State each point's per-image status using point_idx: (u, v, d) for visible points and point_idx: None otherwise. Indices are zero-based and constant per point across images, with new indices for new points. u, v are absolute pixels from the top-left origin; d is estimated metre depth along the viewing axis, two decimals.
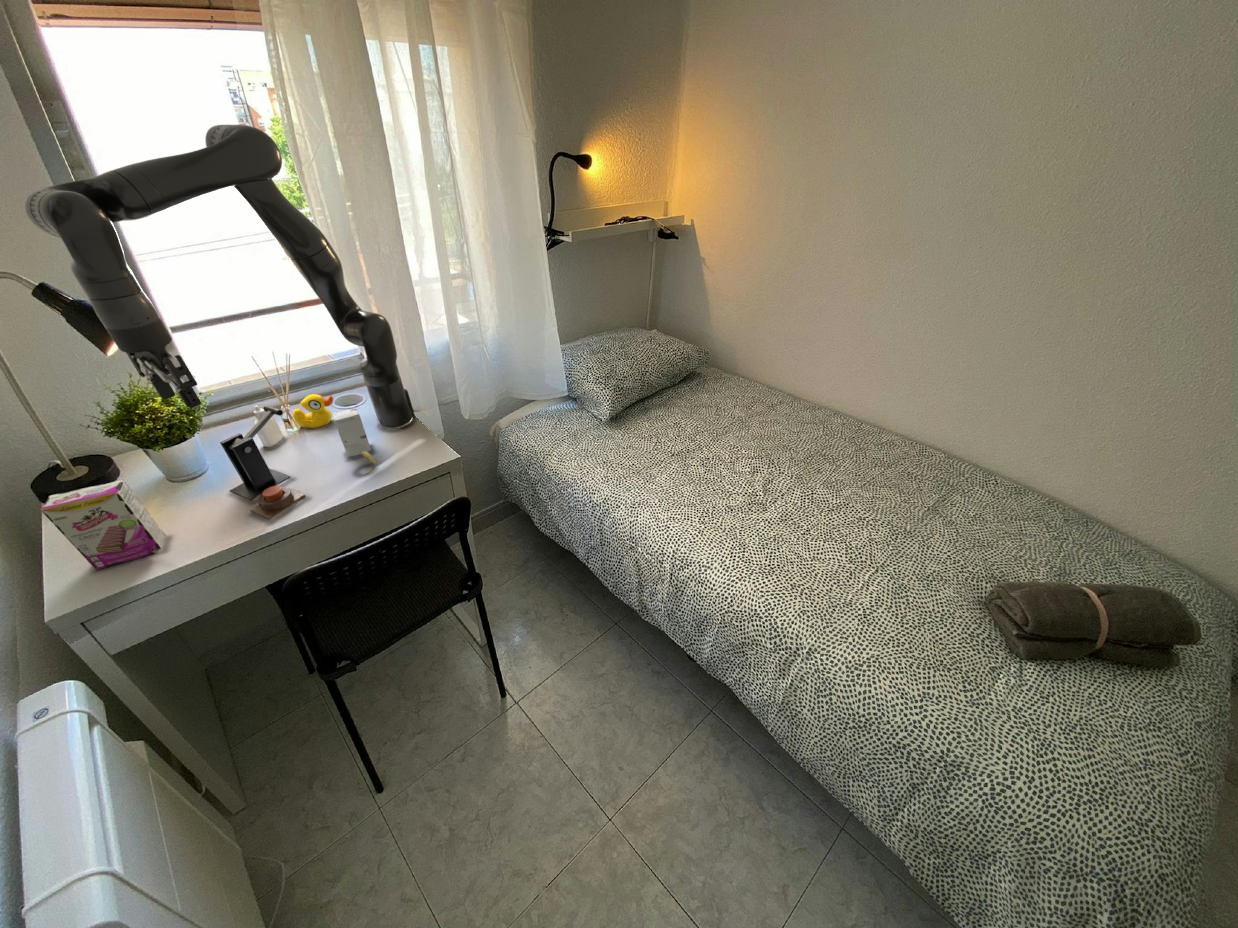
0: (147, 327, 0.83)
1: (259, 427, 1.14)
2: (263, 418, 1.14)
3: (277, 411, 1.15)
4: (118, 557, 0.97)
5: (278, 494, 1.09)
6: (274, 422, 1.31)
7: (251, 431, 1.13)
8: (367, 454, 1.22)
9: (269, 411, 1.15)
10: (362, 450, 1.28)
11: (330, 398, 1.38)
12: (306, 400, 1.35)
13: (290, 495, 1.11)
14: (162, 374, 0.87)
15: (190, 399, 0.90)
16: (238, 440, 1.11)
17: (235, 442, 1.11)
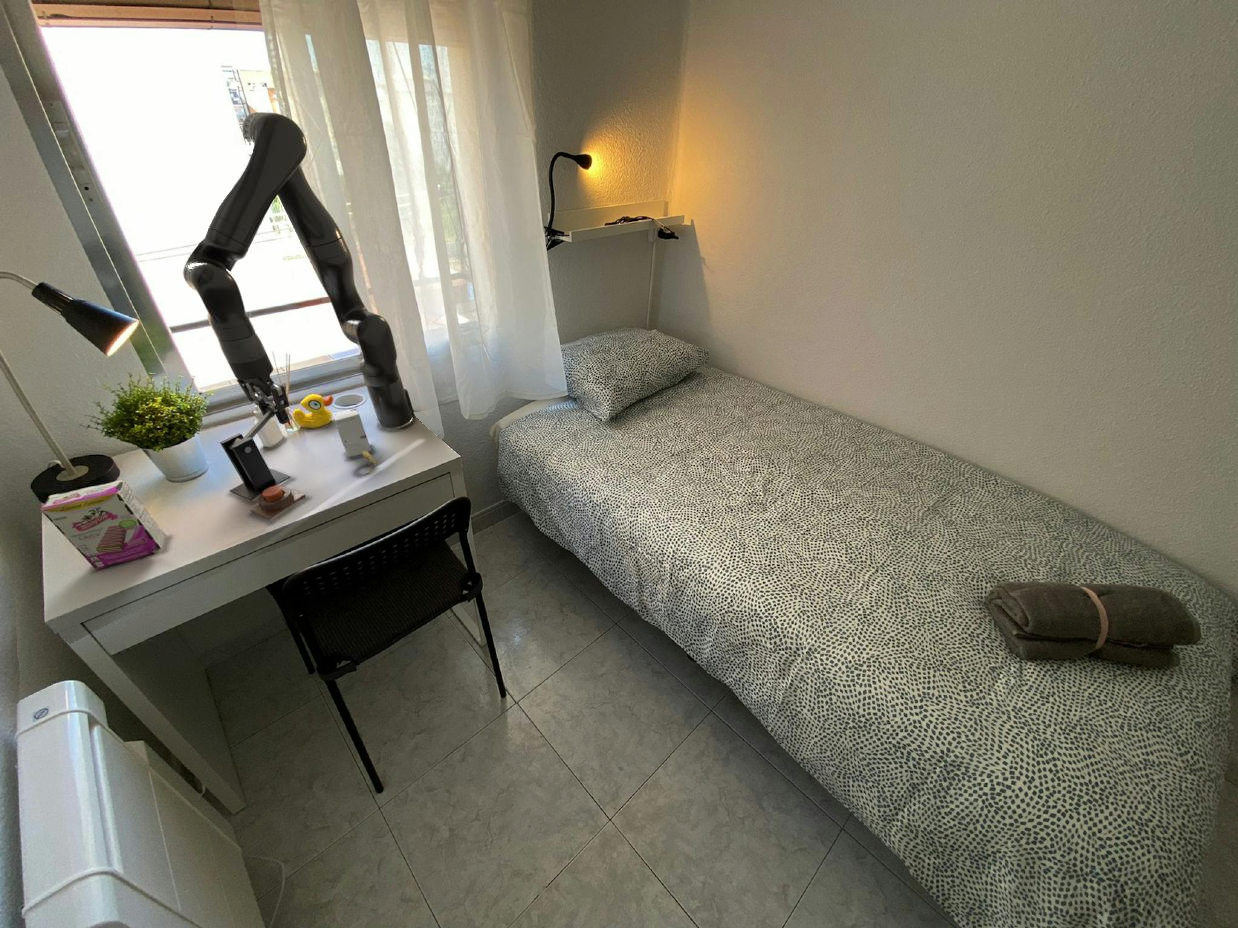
0: (258, 360, 1.07)
1: (259, 427, 1.14)
2: (263, 418, 1.14)
3: None
4: (118, 557, 0.97)
5: (278, 494, 1.09)
6: (274, 422, 1.31)
7: (251, 431, 1.13)
8: (367, 454, 1.22)
9: (269, 411, 1.16)
10: (362, 450, 1.28)
11: (330, 398, 1.38)
12: (306, 400, 1.35)
13: (290, 495, 1.11)
14: (266, 396, 1.11)
15: (283, 417, 1.15)
16: (238, 440, 1.11)
17: (235, 442, 1.11)
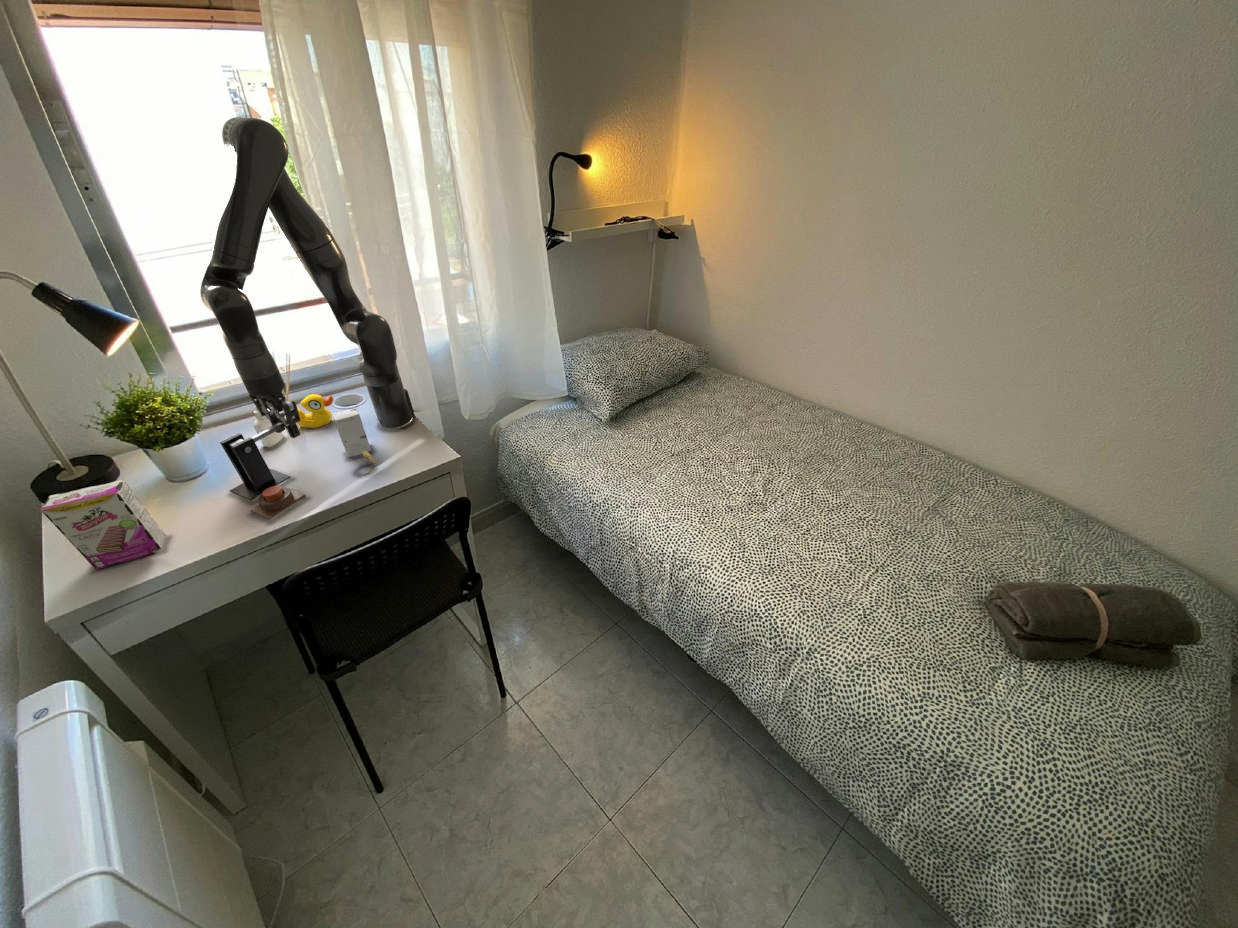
0: (271, 377, 1.10)
1: (265, 434, 1.15)
2: (272, 427, 1.17)
3: None
4: (118, 557, 0.97)
5: (278, 494, 1.09)
6: None
7: (256, 435, 1.14)
8: (367, 454, 1.22)
9: (280, 423, 1.19)
10: (362, 450, 1.28)
11: (330, 398, 1.38)
12: (306, 400, 1.35)
13: (290, 495, 1.11)
14: (278, 411, 1.14)
15: (294, 431, 1.18)
16: (241, 440, 1.11)
17: (237, 441, 1.11)
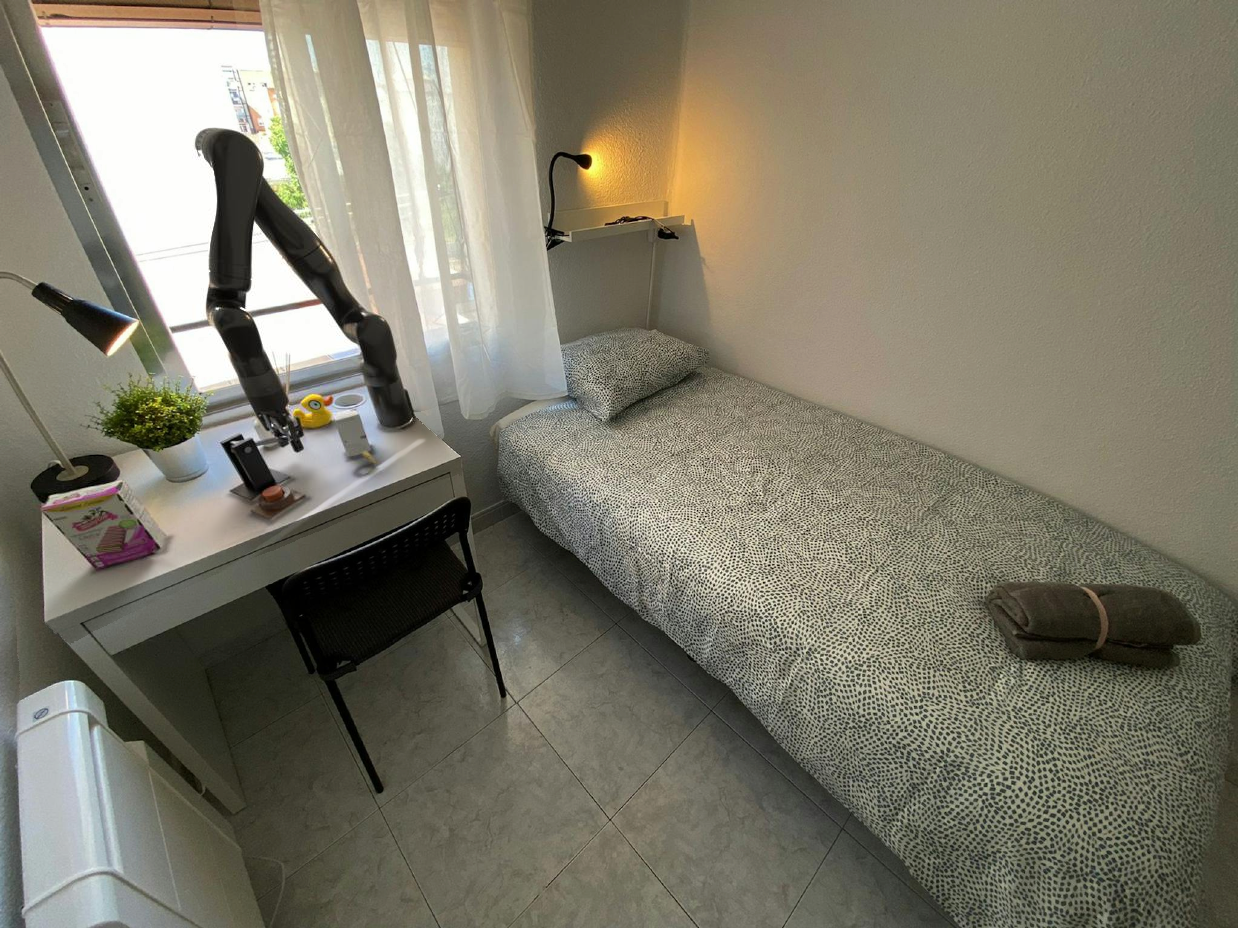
0: (275, 394, 1.12)
1: (268, 442, 1.16)
2: (276, 438, 1.18)
3: None
4: (118, 557, 0.97)
5: (278, 494, 1.09)
6: None
7: (259, 441, 1.15)
8: (367, 454, 1.22)
9: (284, 436, 1.20)
10: (362, 450, 1.28)
11: (330, 398, 1.38)
12: (306, 400, 1.35)
13: (290, 495, 1.11)
14: (282, 427, 1.16)
15: (297, 446, 1.20)
16: None
17: (239, 441, 1.11)
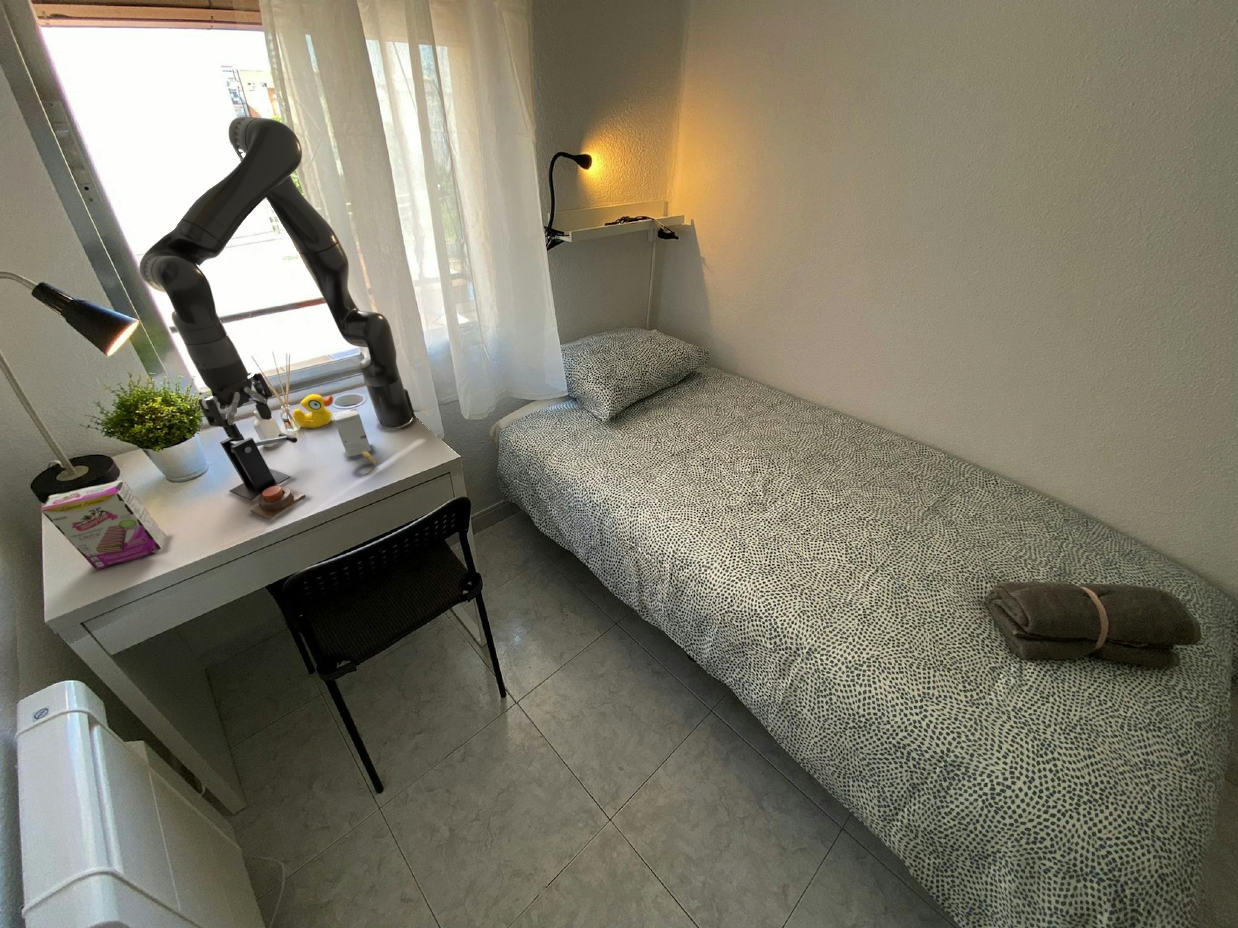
0: (203, 371, 0.94)
1: (268, 442, 1.16)
2: (276, 438, 1.18)
3: (293, 437, 1.20)
4: (118, 557, 0.97)
5: (278, 494, 1.09)
6: (274, 422, 1.31)
7: (259, 441, 1.15)
8: (367, 454, 1.22)
9: (284, 436, 1.20)
10: (362, 450, 1.28)
11: (330, 398, 1.38)
12: (306, 400, 1.35)
13: (290, 495, 1.11)
14: (218, 406, 0.99)
15: (227, 433, 1.01)
16: None
17: (239, 441, 1.11)
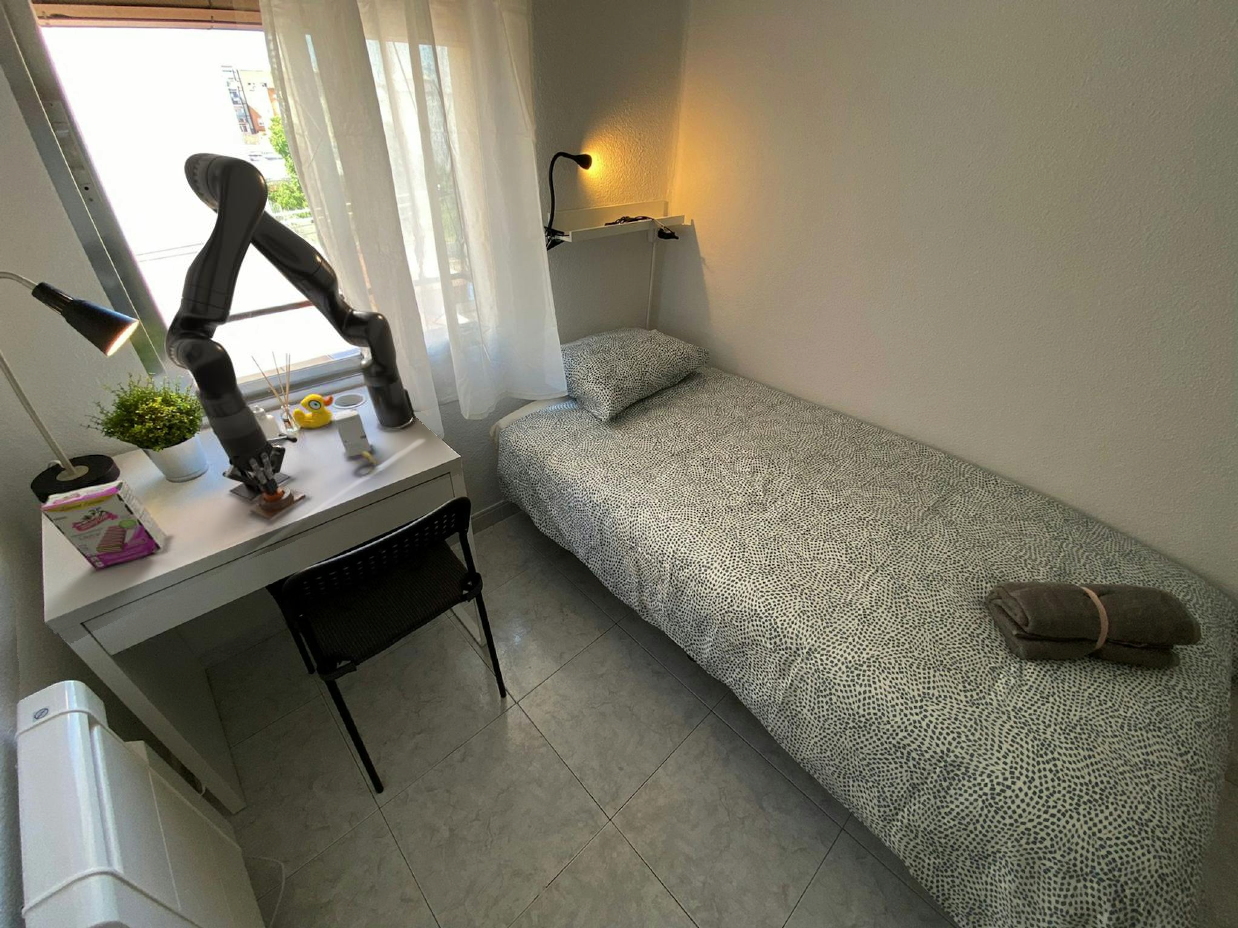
0: (220, 440, 0.97)
1: None
2: (276, 438, 1.18)
3: (293, 437, 1.20)
4: (118, 557, 0.97)
5: (279, 496, 1.10)
6: (274, 422, 1.31)
7: None
8: (367, 454, 1.22)
9: (284, 436, 1.20)
10: (362, 450, 1.28)
11: (330, 398, 1.38)
12: (306, 400, 1.35)
13: (290, 495, 1.11)
14: None
15: (261, 489, 1.08)
16: None
17: None
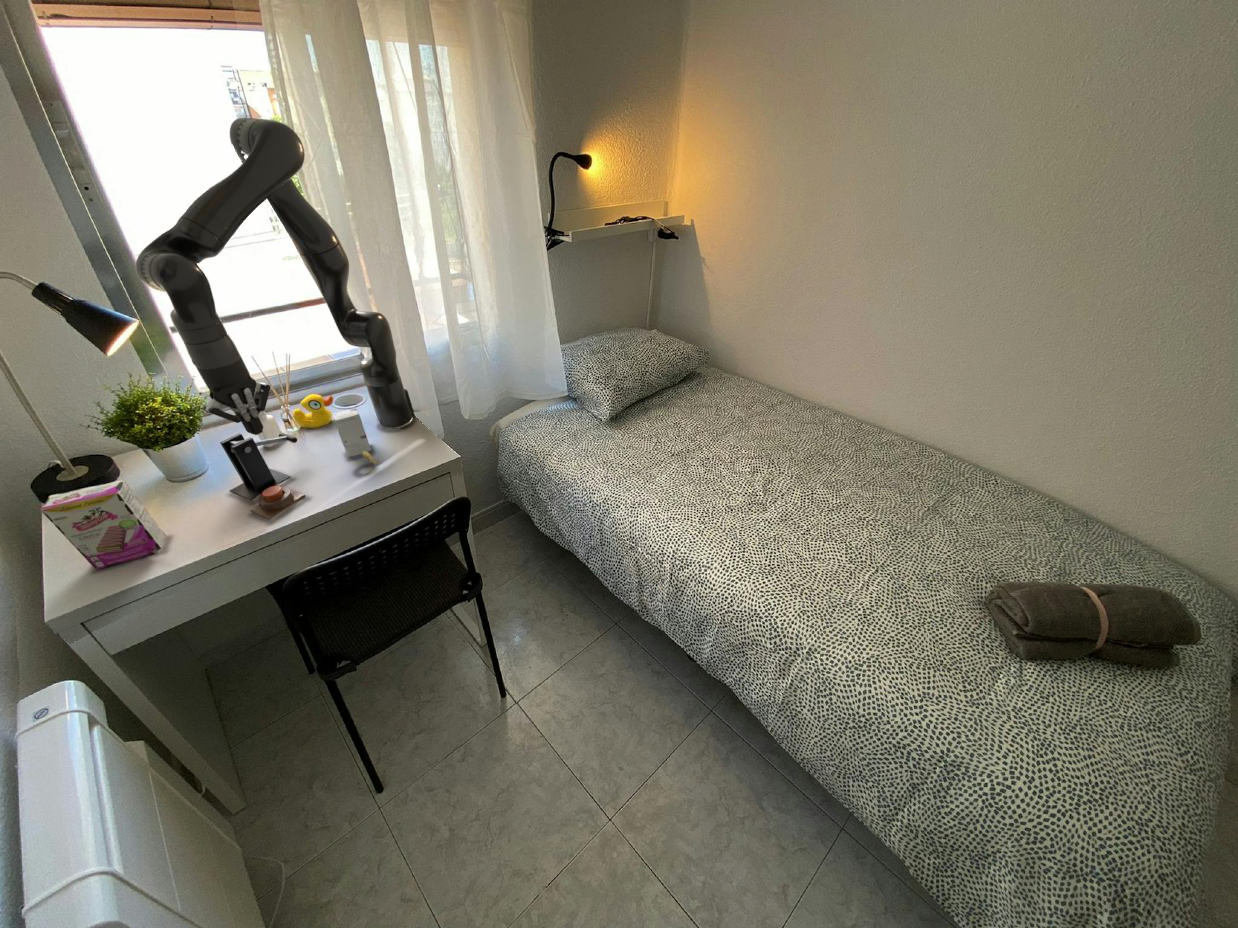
0: (200, 370, 0.92)
1: (268, 442, 1.16)
2: (276, 438, 1.18)
3: (293, 437, 1.20)
4: (118, 557, 0.97)
5: (278, 494, 1.09)
6: (274, 422, 1.31)
7: (259, 441, 1.15)
8: (367, 454, 1.22)
9: (284, 436, 1.20)
10: (362, 450, 1.28)
11: (330, 398, 1.38)
12: (306, 400, 1.35)
13: (290, 495, 1.11)
14: None
15: (245, 428, 1.03)
16: None
17: (239, 441, 1.11)
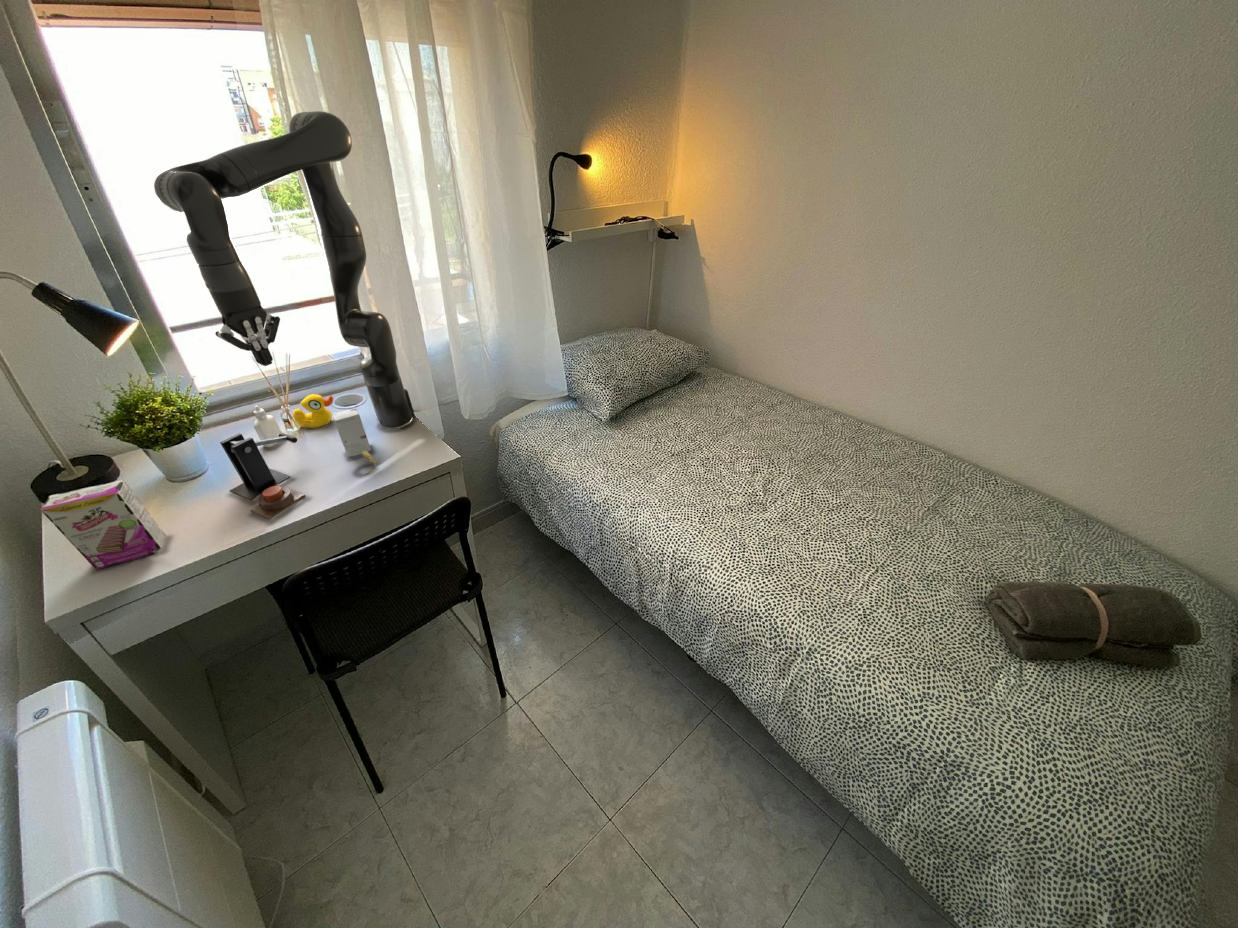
0: (213, 294, 0.95)
1: (268, 442, 1.16)
2: (276, 438, 1.18)
3: (293, 437, 1.20)
4: (118, 557, 0.97)
5: (278, 494, 1.09)
6: (274, 422, 1.31)
7: (259, 441, 1.15)
8: (367, 454, 1.22)
9: (284, 436, 1.20)
10: (362, 450, 1.28)
11: (330, 398, 1.38)
12: (306, 400, 1.35)
13: (290, 495, 1.11)
14: None
15: (255, 358, 1.06)
16: None
17: (239, 441, 1.11)
